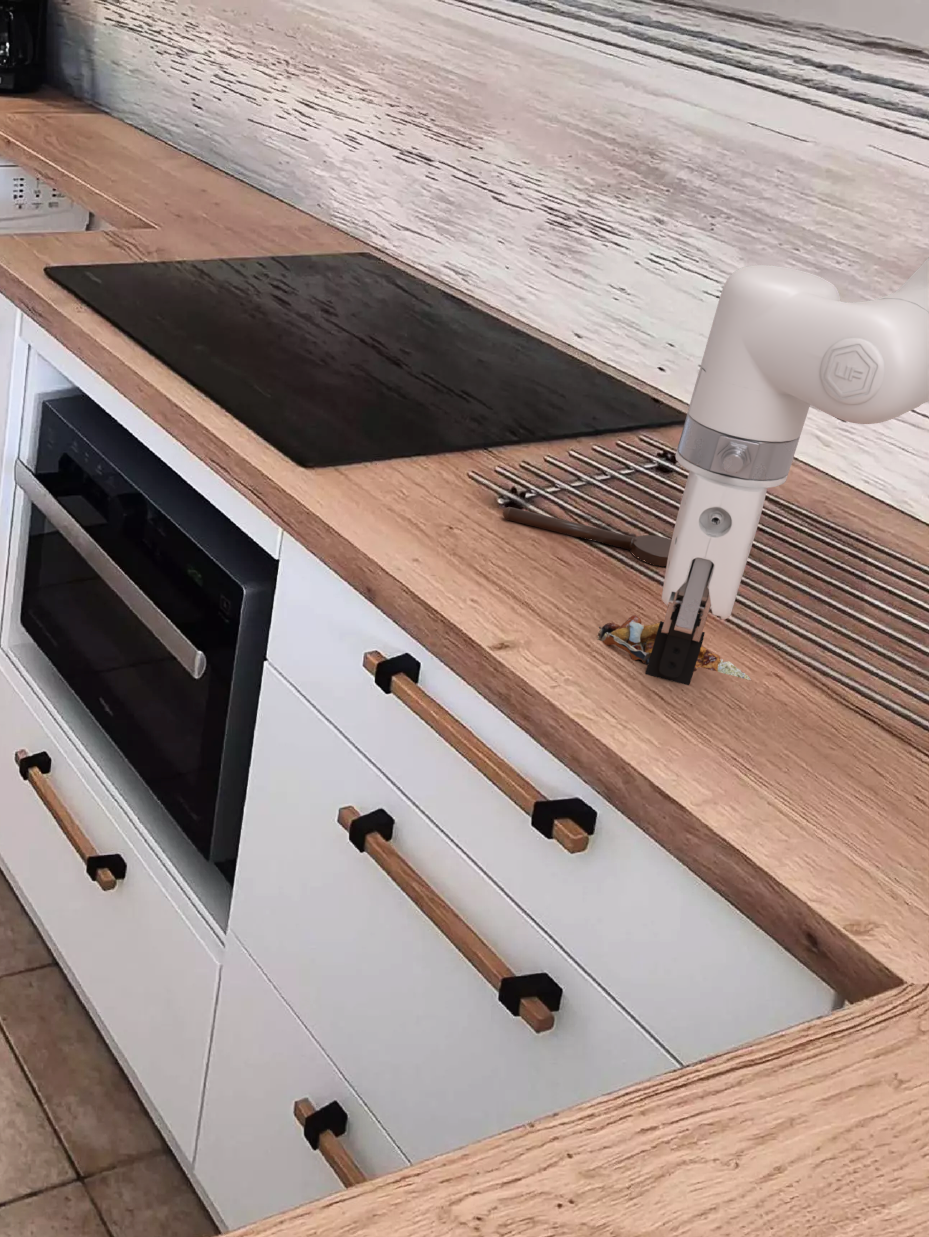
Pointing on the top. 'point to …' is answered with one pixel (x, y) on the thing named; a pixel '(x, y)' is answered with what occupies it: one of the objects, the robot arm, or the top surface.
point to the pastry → (642, 640)
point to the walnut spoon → (597, 535)
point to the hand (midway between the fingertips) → (667, 677)
